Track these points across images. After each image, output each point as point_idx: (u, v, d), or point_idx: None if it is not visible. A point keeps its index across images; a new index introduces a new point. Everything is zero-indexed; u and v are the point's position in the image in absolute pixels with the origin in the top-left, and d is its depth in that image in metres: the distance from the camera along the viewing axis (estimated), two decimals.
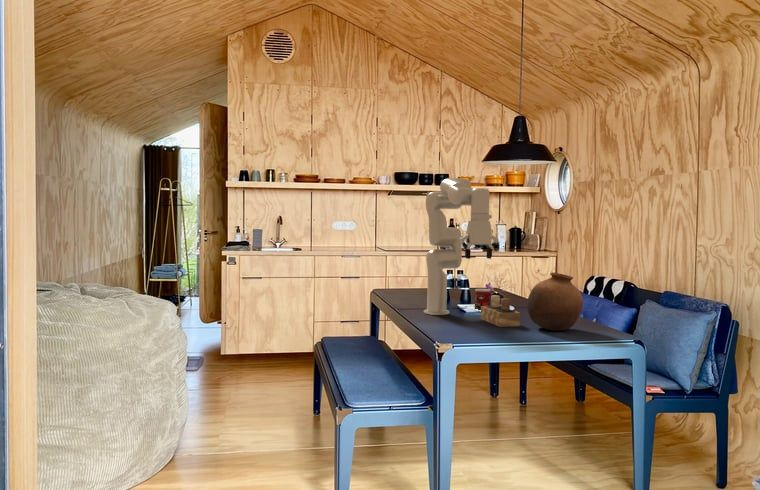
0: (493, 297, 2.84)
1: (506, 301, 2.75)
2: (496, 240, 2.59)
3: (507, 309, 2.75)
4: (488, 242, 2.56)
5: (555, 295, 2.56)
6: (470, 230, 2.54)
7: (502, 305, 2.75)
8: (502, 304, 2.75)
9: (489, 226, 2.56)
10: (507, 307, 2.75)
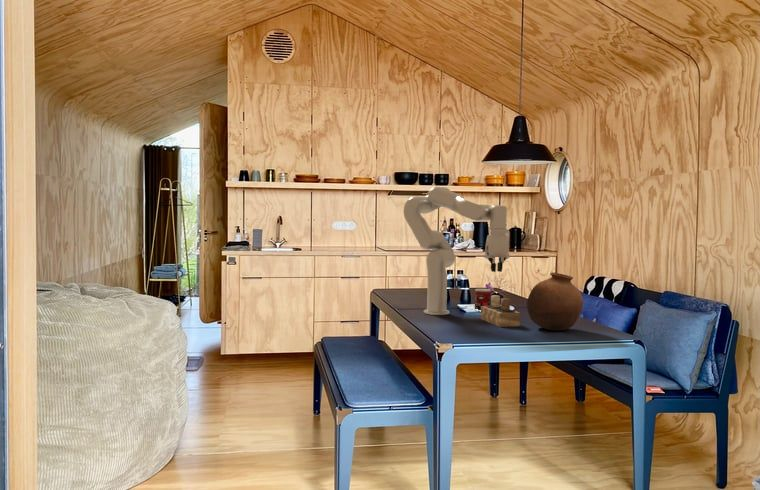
0: (493, 297, 2.84)
1: (506, 301, 2.75)
2: (507, 256, 2.85)
3: (507, 309, 2.75)
4: (505, 254, 2.83)
5: (555, 295, 2.56)
6: (489, 243, 2.81)
7: (502, 305, 2.75)
8: (502, 304, 2.75)
9: (506, 239, 2.83)
10: (507, 307, 2.75)
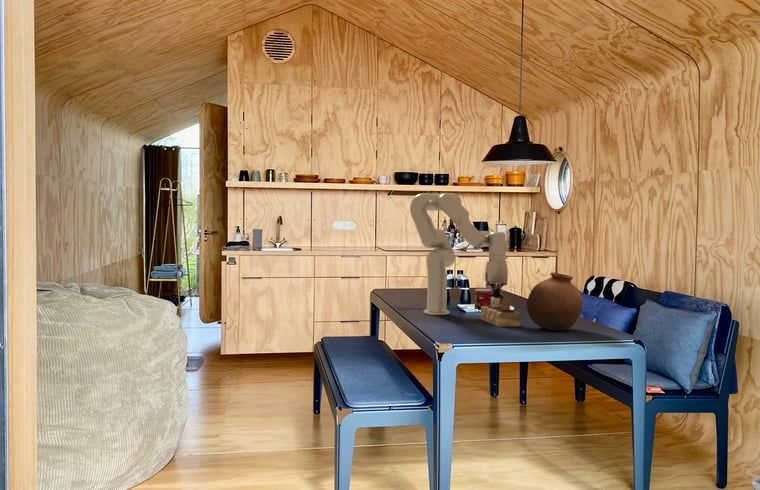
0: (493, 299, 2.84)
1: (506, 301, 2.75)
2: (505, 283, 2.86)
3: (507, 309, 2.75)
4: (505, 280, 2.84)
5: (555, 295, 2.56)
6: (489, 270, 2.82)
7: (502, 305, 2.75)
8: (502, 304, 2.75)
9: (506, 266, 2.83)
10: (507, 307, 2.75)
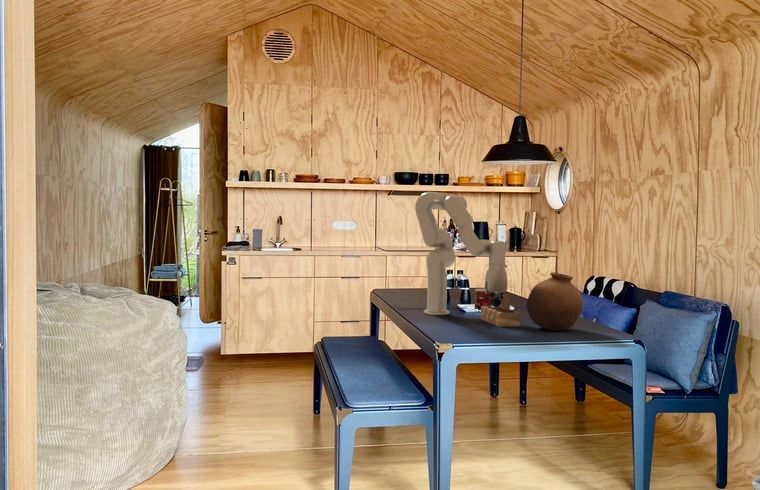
0: None
1: (506, 301, 2.75)
2: (505, 292, 2.86)
3: (507, 309, 2.75)
4: (504, 289, 2.84)
5: (555, 295, 2.56)
6: (488, 279, 2.82)
7: (502, 305, 2.75)
8: (502, 304, 2.75)
9: (505, 275, 2.84)
10: (507, 307, 2.75)
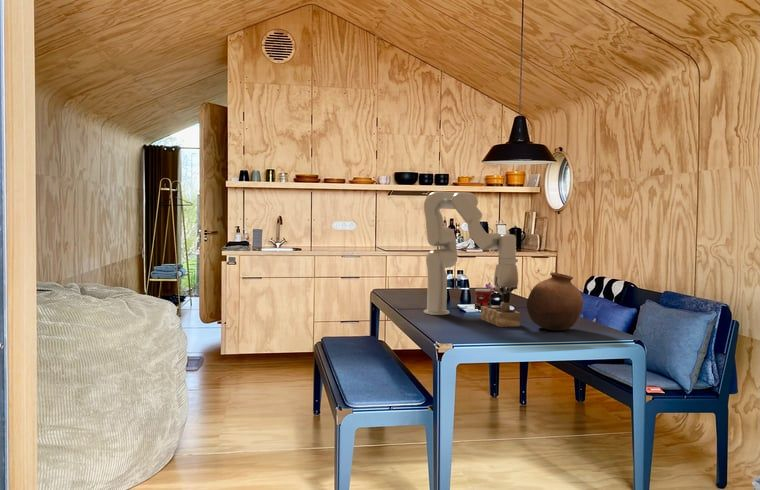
0: None
1: (506, 304, 2.75)
2: (515, 287, 2.77)
3: None
4: (515, 284, 2.75)
5: (555, 295, 2.56)
6: (498, 274, 2.73)
7: (502, 308, 2.75)
8: (502, 307, 2.75)
9: (516, 269, 2.74)
10: (507, 310, 2.75)
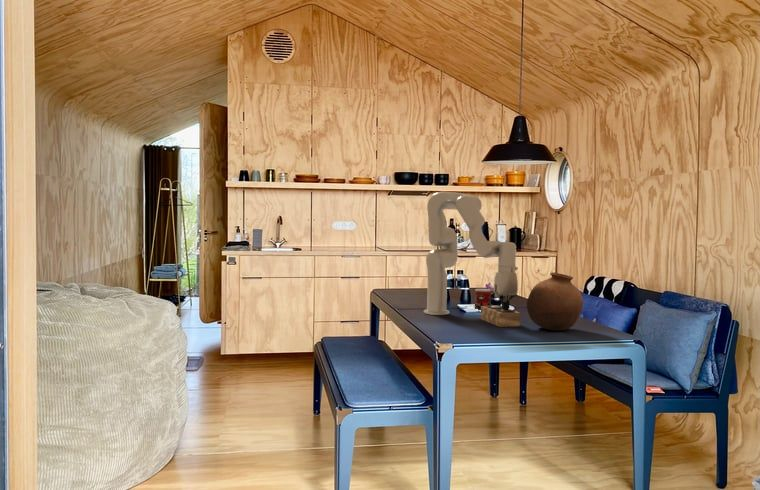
0: None
1: None
2: (515, 295, 2.77)
3: None
4: (514, 292, 2.75)
5: (555, 295, 2.56)
6: (498, 281, 2.73)
7: None
8: None
9: (515, 277, 2.75)
10: None
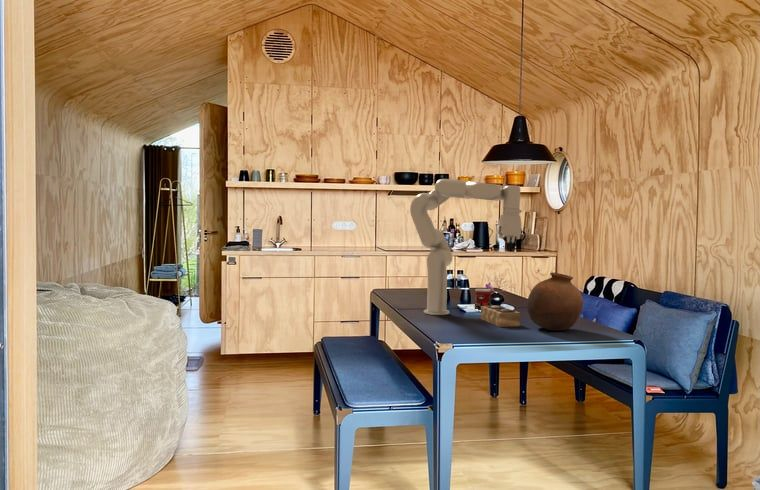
0: None
1: None
2: (518, 237, 2.87)
3: None
4: (518, 234, 2.86)
5: (555, 295, 2.56)
6: (502, 223, 2.84)
7: None
8: None
9: (519, 219, 2.85)
10: None
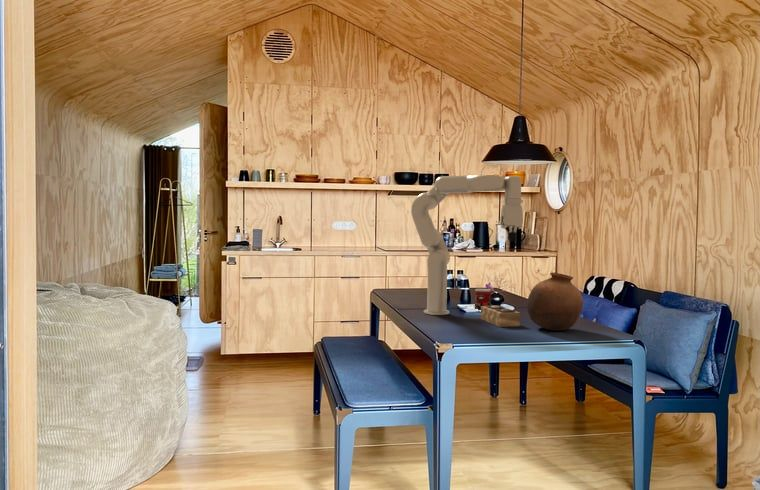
0: None
1: None
2: (520, 227, 2.92)
3: None
4: (520, 224, 2.90)
5: (555, 295, 2.56)
6: (504, 213, 2.88)
7: None
8: None
9: (521, 209, 2.90)
10: None
